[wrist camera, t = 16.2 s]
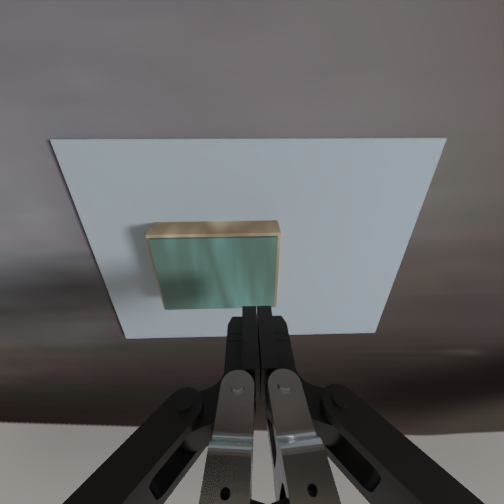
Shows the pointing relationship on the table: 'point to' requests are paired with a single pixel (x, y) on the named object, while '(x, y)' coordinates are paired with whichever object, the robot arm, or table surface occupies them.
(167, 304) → the tile
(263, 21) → the table surface
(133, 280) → the mat
